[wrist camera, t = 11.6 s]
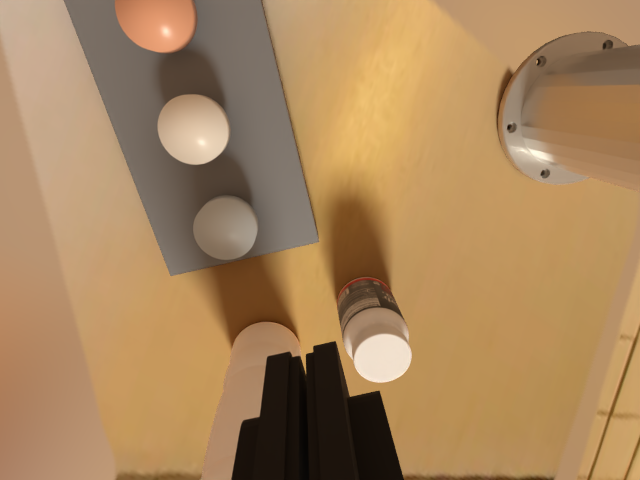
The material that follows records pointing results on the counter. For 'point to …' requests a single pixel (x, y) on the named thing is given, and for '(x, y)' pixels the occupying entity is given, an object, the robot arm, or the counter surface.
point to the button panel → (237, 101)
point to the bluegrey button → (226, 227)
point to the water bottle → (243, 392)
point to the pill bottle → (373, 330)
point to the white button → (193, 128)
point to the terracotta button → (158, 23)
